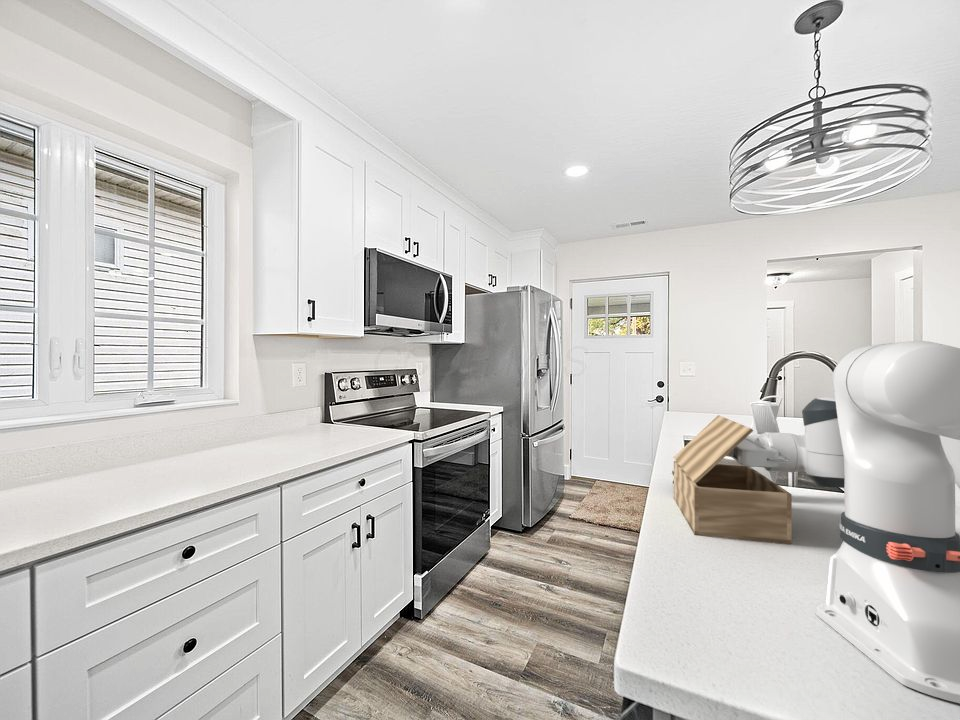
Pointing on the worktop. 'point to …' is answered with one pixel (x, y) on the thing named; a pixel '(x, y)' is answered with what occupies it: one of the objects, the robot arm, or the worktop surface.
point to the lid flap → (711, 446)
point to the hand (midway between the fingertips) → (708, 448)
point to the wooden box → (734, 504)
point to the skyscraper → (765, 426)
